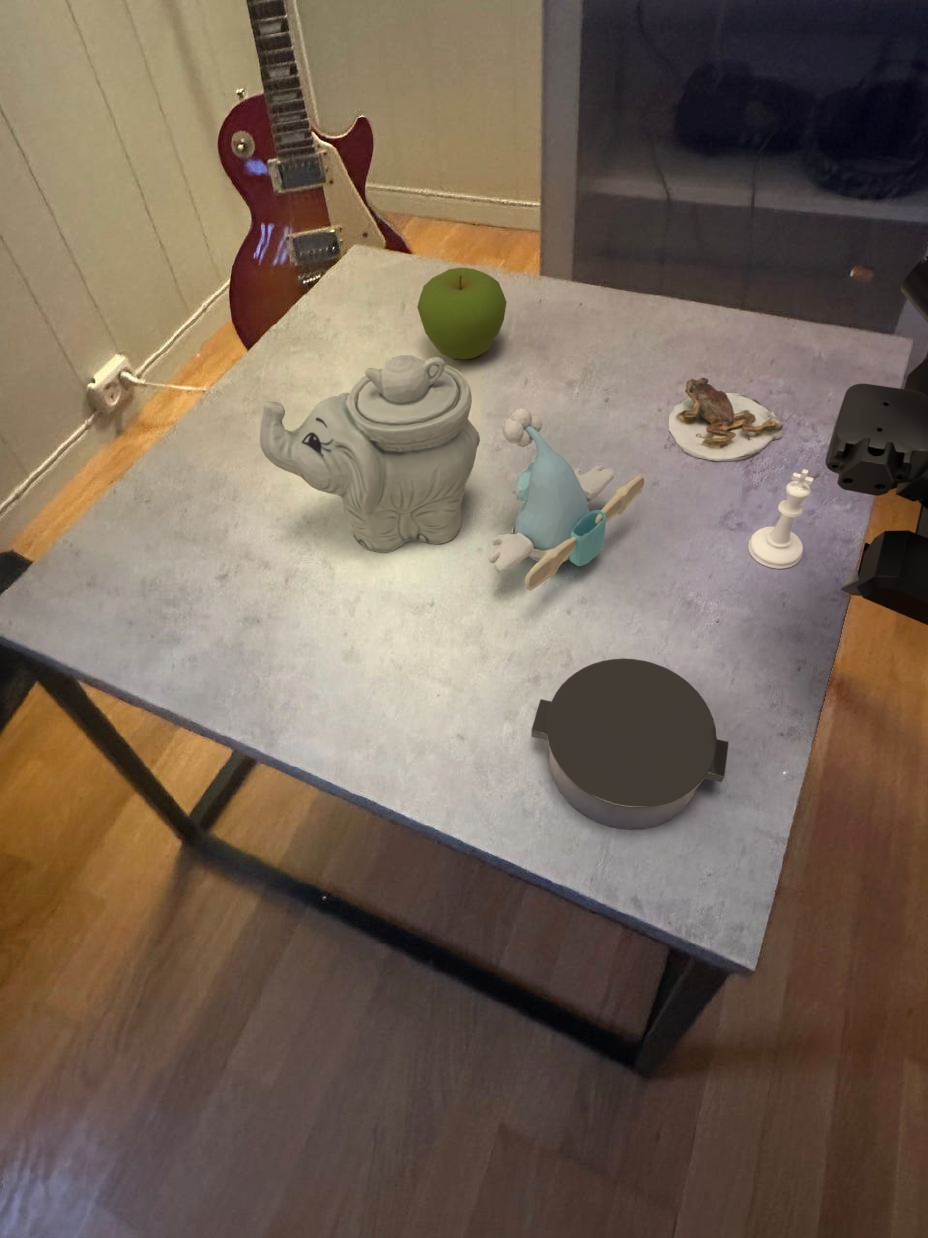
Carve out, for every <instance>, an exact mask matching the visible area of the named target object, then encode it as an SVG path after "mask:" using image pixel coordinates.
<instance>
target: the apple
mask: <svg viewBox="0 0 928 1238" xmlns="http://www.w3.org/2000/svg"><path fill="white" fill-rule="evenodd" d="M418 299H419V300H418V303H417V306H416V307H417V311H418V314H419V317H420V321H421V324H422V327H423V329H424V333H425V335H426V336H427V337H428V339H429V340H430V341H431V342H432V345H434V347H435V348H436V349H437V350H438V351H439V352H440V354H441V355H443V356H446V357H449V358H451V359H459V360H472V359H476V358H477V357H479V356H481V355H482V354H484V353H486V352H487V351H488V350H489V349H490V348H491V347H492V345H493V343H494V342H495V339H496V338H497V336H498V334H499V332H500V330H501V328H502V325H503V323H504V321H505V317H506V315H505V314H506V309H507V299H506V297H505V294H504V292H503V289H502V286H501V284H500V282H499V281H498V280H497V279H495V278H494V277H493V276H491V275H490V274H487V273H485V272H484V271H481V270H478V269H475V268H469V267H455V268H449V269H448V270H445V271H443V272H441V273H440V274H439V273H438V274H437V275H435V276H432V277H431V278H430V280H428V281H427V282H426V283H425V284H424V285H423V287H422V290H421V292H420V295H419V298H418Z"/></svg>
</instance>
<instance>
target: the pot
mask: <svg viewBox="0 0 928 1238" xmlns="http://www.w3.org/2000/svg"><path fill="white" fill-rule="evenodd" d="M530 731H531V733H530V734H531V738H535V739H539V740H542V741H547V745H548V761H549V768H550V772H551V777H552V778H553V781H554V783H555V785H556V787H557V789H558V790H559V792H560V793H561V795H562V796H563V797H564V799H565V801H567V802H568V803H569V805H571V806H572V807H573V808H574V809H575V811H578V812H579V813H580V814H582V815H583V816H585V817H586V818H588V819H590V820H591V821H593V822H596V823H598V824H600V825H602V826H603V825H604V826H606V827H610V828H614V829H615V828H616V829H620V830H643V829H649V828H653V827H656V826H659V825H662V824H664V823H666V822H668V821H670V820H671V819H673V818H674V817H676V816H677V815H679V814H680V813H681V812H682V811H683V810H684V809H685V808H686V807H687V806H688V805H689V803H690V802H691V801H692V799H693V797H694V796H695V793H696V791H697V789H698V787H699V786H700V785H701V784H702V782H703V781H704V780H705V779H706V780H710V781H715V782H719V783H722V782H723V781H724V779H725V777H726V769H727V759H728V752H729V751H728V750H729V741H728V740H727V741H726V740H723V739H718V737H717V729H716V724H715V721H714V717H713V714H712V712H711V710H710V708H709V706H708V704H707V703H706V701H705V699H704V698H703V696H702V695H701V694H700V693H699V691H698V690H697V689H696V688H695V687H694V686H693V685H692V684H691V683H689V682H688V681H687V680H686V679H685V678H683V677H682V676H681V675H679V674H678V673H676V672H675V671H672V670H670V669H669V668H667V667H665V666H662V665H659V664H658V663H654V662H650V661H647V660H641V659H637V658H636V659H635V658H612V659H606V660H601V661H598V662H594V663H592V664H589V665H587V666H584V667H582V668H581V669H579V670H578V671H576V672H575V673H573V674H571V676H570V677H568V678H567V679H566V680H565V681H564V682H563V683H562V684H561V685H560V687H559V688H558V689H557V691H556V692H555V694H554V695H553V697H552V699H551V700H547V699H542V698H540V699H539V702H538V705H537V710H536V713H535V717H534V720H533V723H532V727H531V730H530Z"/></svg>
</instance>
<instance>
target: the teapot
mask: <svg viewBox="0 0 928 1238" xmlns="http://www.w3.org/2000/svg"><path fill="white" fill-rule="evenodd" d="M472 403H473V396H472V391H471V387H470V385H469V383H468V380H467V379H466V378H465V377H464V375H463V374H462V372H461V371H459V370H458V369H457V368H455V367H452V366H451V365H448V364H446V363H445V361H444V359H443V358H441V357H439V356H436V357H435V356H434V357H430V358H428V359H427V360H426V361H423V360H422V359H420V358H418V357H417V356H414V355H409V354H401V355H397V356H394V357H392V358H390V359H389V360H388V361H386V362H385V363H384V365H383V367H382V368H381V367H380V368H374V367H367V368H366V369H365V371H364V376H363V377H361V378H360V379H359V380H357V381H356V383H354V385H353V386H352V388H351V390H350V391H349V392H342V393H340V394H338V395H334V396H329V397H327V398H324V399H323V400H321V401H320V402H319V403H317V404H316V405H315V406H314V407H313V409H312V410H311V411H310V413H309V414H308V415H307V417H306V418H305V420H304V421H303V422H302V424H301V425H300V426H298V428H296V429H294V430H288V429H286V428H285V425H284V423H283V420H284V417H285V415H286V409H285V407H284V405H283V403H281V402H277V401H265V403H264V405H263V411H262V417H261V421H260V431H259V444H260V448H261V452H262V453H263V455H264V456H265V458H266V459H267V460H268V462H270V463H272V464H273V465H274V466H275V467H277V468H279V469H281V470H283V471H285V472H288V473H291V474H294V475H296V476H297V477H300V478H301V479H303V480H304V481H305V482H306V483H307V484H308V485H309V486H310V487H311V488H313V489H315V490H317V491H319V492H322V493H325V494H329V495H330V494H331V495H336V496H338V497H339V498H341V500H342V507H343V512H344V515H345V518H346V520H347V521H348V522H349V524H350V525H351V526H352V528H353V538H354V540H355V542H357V544H359V545H360V546H362V547H363V548H365V549H366V550H369V551H372V552H376V553H377V552H378V553H389V552H393V551H395V550H397V549H398V548H400V547H401V546H403V545H404V544H406V543H409V542H412V541H418V542H423V543H428V544H431V545H432V544H435V545H437V544H438V545H439V544H444V543H448V542H449V541H451V540H453V539H454V538H456V536H457V535H458V533H459V530H460V529H461V525H462V502H463V499H464V495H465V491H466V484H467V482H468V480H469V478H470V475H471V473H472V471H473V468H474V465H475V461H476V458H477V451H478V448H479V446H480V442H481V436H480V433H479V431H478V430H477V429H476V427H475V426H474V424H472V422H471V420H469V416H470V412H471V408H472Z"/></svg>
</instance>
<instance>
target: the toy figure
mask: <svg viewBox="0 0 928 1238" xmlns="http://www.w3.org/2000/svg"><path fill="white" fill-rule="evenodd" d="M542 428H543V423H542V418H541V417H540V416H538V414H532V413H531V411H529V410H528V409H527V408H518V409H515V410H514V412H513V413H511V416H510V417H508V418H507V419H506V420H505V421H504V422H503V425H502V435H503V437H504V438H505V440H506V441H507V442H508V443H511V444H515V445H516V446H518V447H520V448H525V447H528V446H530V445H531V444H532V443H533V442H534V444H535V448H536V457H535V459H534V461H533V462H531V463H530V464H529V465H528V467H527V469H525V470H523V471H522V472H521V473H520V474H519V475H518V476H517V479H516V482H515V486H514V490H513V491H512V492H511V493H512V495H515V499H516V500H518V501H520V502H524V503H523V505H522V506H521V508H520V509H519V511H518V513H517V515H516V519H515V521H514V524H512V525H513V526H512V529H511V533H503V534H497V535H494V536H493V537H492V538H491V543H492V545H493V546H497V545H498V547H497V548H496V549H495V550H494V551H493V552H492V553H491V554H490V555H489V558H488V561H489V563H490V564H494V569H495V570H496V571H498V572H501V573H503V572H506V571H508V570H510V569H511V568H513V567H514V566H516V565H517V564H518V563H520V562H521V561H523V560H525V559H526V558H528V557H529V558H531V559H532V560H534V561H536V563H535V565H533V566H532V567H531V568H530V569H529V571H528V573H527V574H526V576H525V579H524V585H525V589H526V590H527V591H533V590H534V589H536V588H537V587H538V586H540V585H541V584H542V583H543V582H545V581H546V580H547V579H549V577H553V576H554V575H555V574H556V573H557V572H558V569H559V568H560V566H562V564H563V563H564V562H567V561H568V560H569V561H570V562H571V563H572V564H574V565H575V566H578V567H582V566H585V565H587V564H589V563H590V562H591V561H592V560H593V559H595V558H596V556H598V554H599V553H600V552H601V550H602V548H603V545H604V542H605V534H606V524H607V523H608V522H609V521H611V520H612V519H613V518H615V517H616V516H618V515H622V514H623V513H625V512H626V509H627V507H628V506H630V505H631V503H632V502H633V501H635V499H636V498H637V497H638V496H639V495H640V494H641V492H642V490H643V488H644V484H645V477H644V476H643V475H641V474H640V475H637V476H635V477H634V478H632V479H631V480H630V481H629V482H627V483H626V484H625V485H623V486H620V487H618V488H617V489H616V490H615V492H614V495H613V496H612V498H610V499H609V501H608V502H607V503H605V505H604V507H602V508H601V510H600V509H594V510H591V511H590V508H589V503H590V502H591V501H593V500H594V499H596V498H597V497H598V496H600V494H601V493H602V492H603V490H605V488H606V487H607V486H608V485H609V484H610V483H611V481H612V480H613V479H614V478H615V474H616V473H615V471H614V470H613V469H612V468H609V467H608V468H604V469H603V466H602V465H601V464H598V465H596V466H595V467H593V468H592V469H590V470H588V471H585V472H584V473H582V474H581V470H580V469H579V468H575V469H574V468H573V467H572V466H571V464H570V463H569V461H568V460H567V459H566V458H565V457H564V456H563V455H561V454H560V453H559V452H557V451H556V450H554V449H553V448H552V447H551V446H550V445H549V444H548V442H547V441H546V440H545V439H544V437H543V436H542V434H540V433H539V432H540V431H541V430H542Z"/></svg>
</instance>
